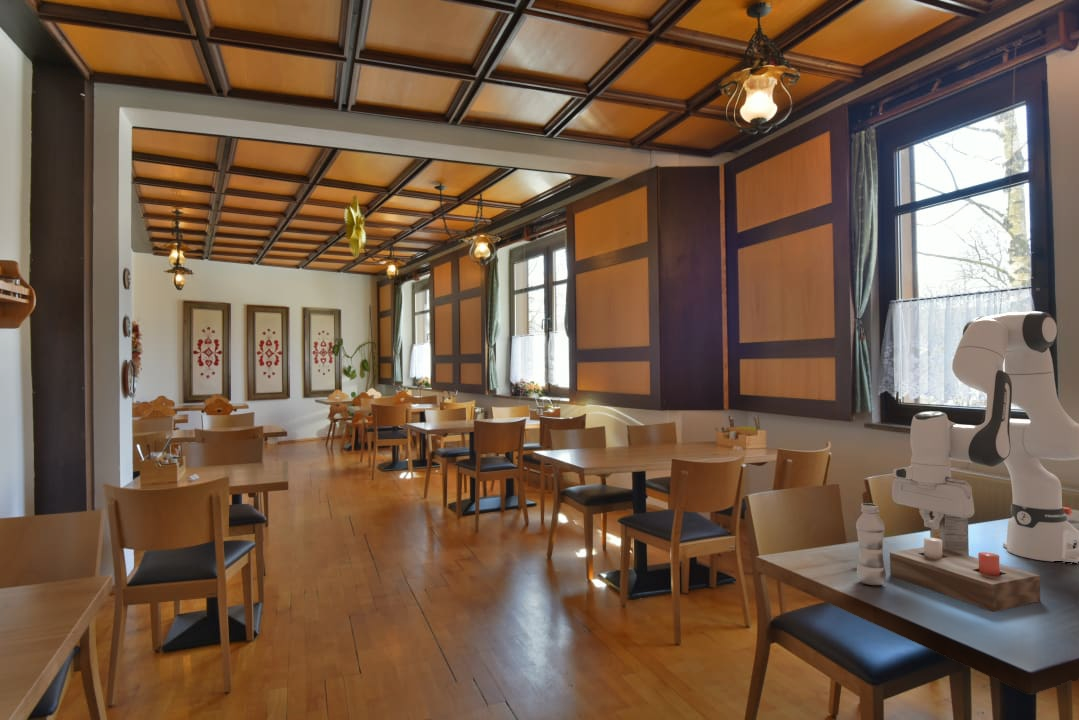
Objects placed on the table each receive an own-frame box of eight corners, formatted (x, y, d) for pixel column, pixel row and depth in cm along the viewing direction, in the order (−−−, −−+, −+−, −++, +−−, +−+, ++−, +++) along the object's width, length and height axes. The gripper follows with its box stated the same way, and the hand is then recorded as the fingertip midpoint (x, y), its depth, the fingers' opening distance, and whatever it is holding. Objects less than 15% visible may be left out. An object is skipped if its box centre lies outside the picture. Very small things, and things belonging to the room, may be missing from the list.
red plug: (986, 578, 146) (985, 551, 146) (1004, 584, 142) (1003, 556, 142) (975, 580, 144) (974, 553, 145) (992, 586, 141) (991, 558, 141)
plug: (931, 561, 159) (931, 536, 159) (946, 566, 155) (945, 540, 155) (920, 563, 158) (919, 538, 158) (935, 568, 154) (934, 542, 154)
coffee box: (929, 559, 172) (928, 502, 172) (954, 560, 171) (953, 503, 171) (944, 570, 163) (942, 510, 163) (970, 571, 162) (969, 511, 162)
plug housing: (934, 567, 165) (933, 545, 165) (1040, 601, 140) (1039, 575, 140) (890, 575, 159) (889, 552, 159) (993, 611, 135) (992, 584, 135)
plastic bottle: (850, 581, 155) (848, 503, 155) (869, 578, 157) (867, 501, 158) (873, 590, 149) (871, 508, 149) (892, 585, 152) (890, 506, 152)
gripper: (980, 480, 148) (981, 536, 148) (904, 468, 167) (905, 518, 167) (961, 481, 146) (963, 539, 146) (887, 469, 165) (888, 520, 165)
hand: (931, 527), depth 157 cm, fingers closed
